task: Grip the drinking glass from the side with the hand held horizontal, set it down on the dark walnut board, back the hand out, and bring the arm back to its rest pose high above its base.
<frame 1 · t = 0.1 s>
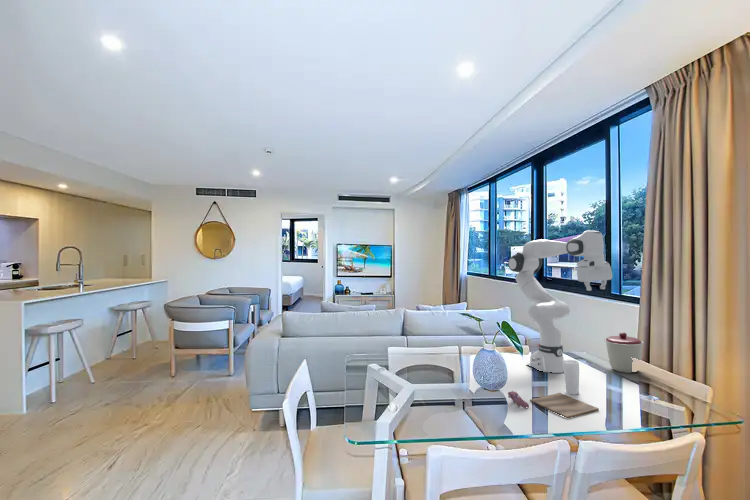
hand: (595, 289, 182), 48 cm above the table, tool pointing down, fingers open, 8 cm apart
drinking glass: (572, 393, 174), on the table
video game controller: (518, 405, 164), on the table
walnut board: (563, 406, 160), on the table
canister: (625, 370, 202), on the table
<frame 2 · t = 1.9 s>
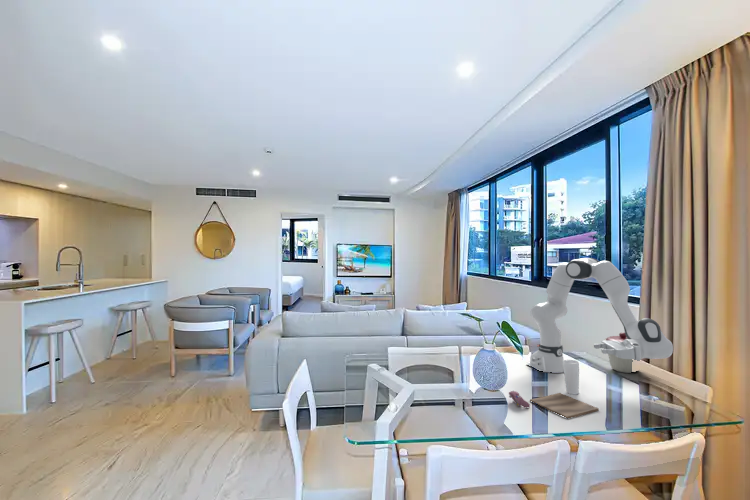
hand: (598, 348, 172), 21 cm above the table, tool horizontal, fingers open, 8 cm apart
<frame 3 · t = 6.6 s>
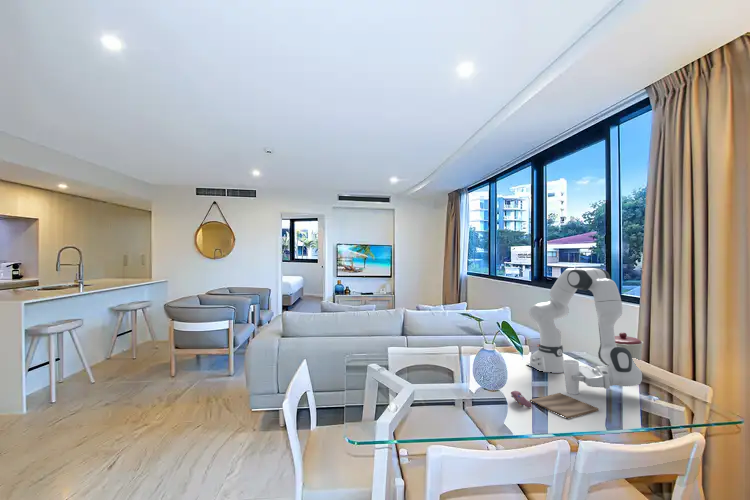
hand: (569, 375, 174), 9 cm above the table, tool horizontal, fingers closed on drinking glass, 6 cm apart
drinking glass: (572, 393, 174), on the table, touching gripper
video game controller: (520, 404, 164), on the table
everything else where it was.
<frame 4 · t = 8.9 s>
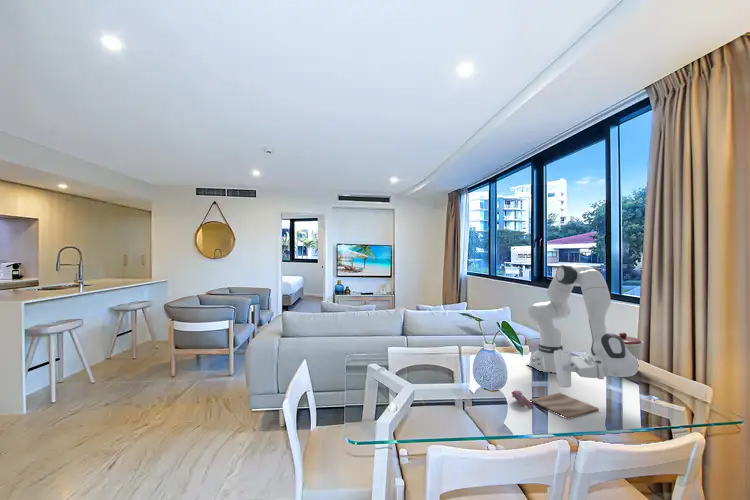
hand: (560, 365, 161), 17 cm above the table, tool horizontal, fingers closed on drinking glass, 6 cm apart
drinking glass: (564, 386, 161), point 8 cm above the table, touching gripper
when the fingers open (11 cm above the table, at t = 11.2 s): drinking glass moves 2 cm, resting on walnut board.
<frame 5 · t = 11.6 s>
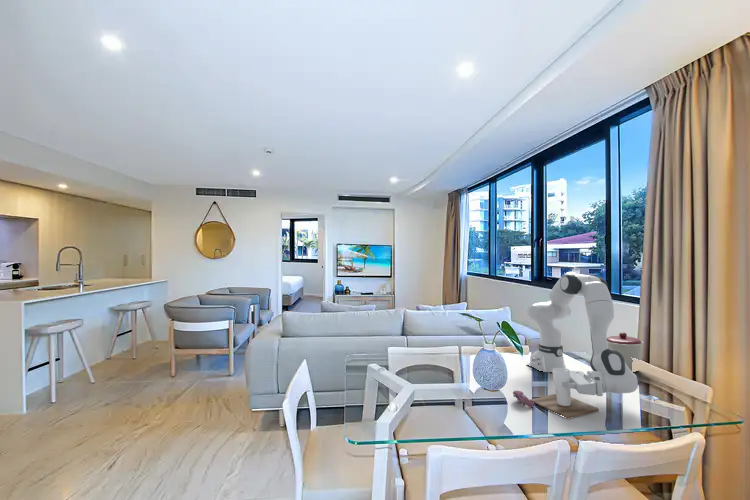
hand: (559, 381, 160), 11 cm above the table, tool horizontal, fingers open, 8 cm apart
drinking glass: (564, 405, 158), point 1 cm above the table, touching gripper, walnut board
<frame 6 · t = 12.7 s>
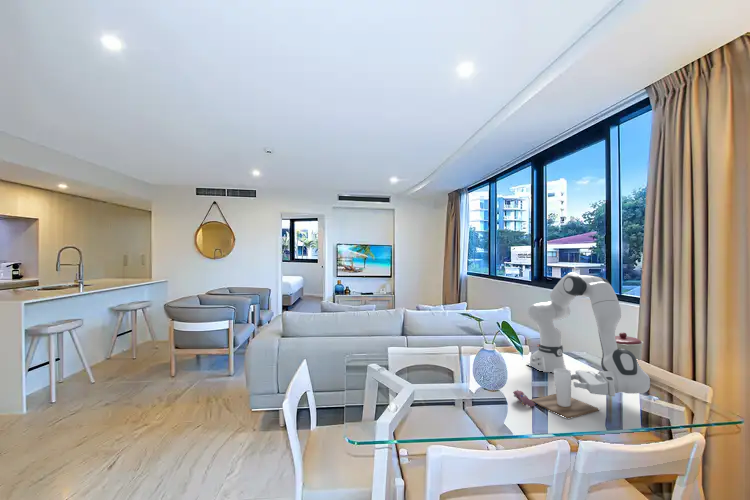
hand: (570, 381, 159), 11 cm above the table, tool horizontal, fingers open, 8 cm apart
drinking glass: (564, 405, 158), point 1 cm above the table, touching walnut board
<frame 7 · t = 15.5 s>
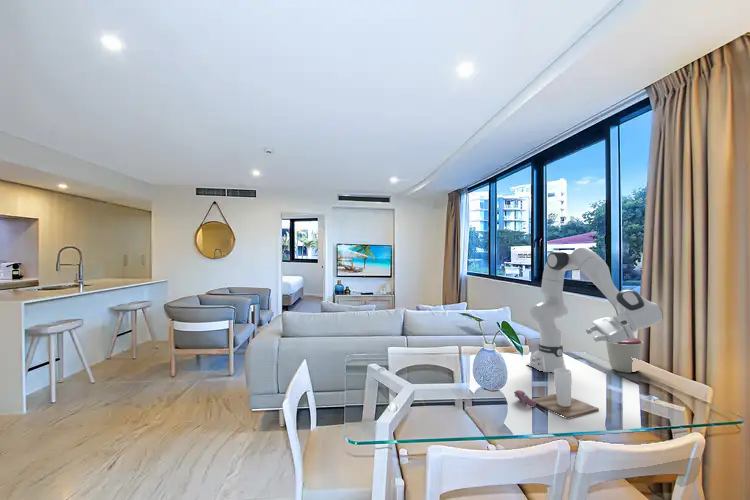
hand: (590, 335, 164), 29 cm above the table, tool tilted 70°, fingers open, 8 cm apart
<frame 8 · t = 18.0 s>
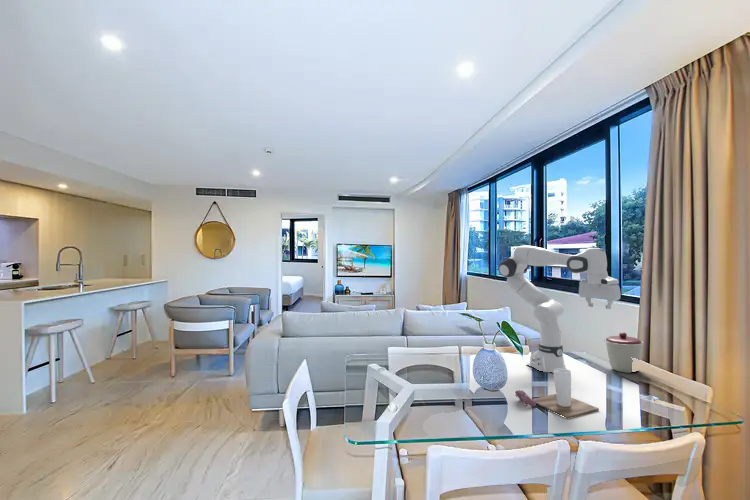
hand: (599, 307, 181), 39 cm above the table, tool pointing down, fingers open, 8 cm apart
at the end: drinking glass inside the target area on the walnut board (1.5 cm from its centre), point 0.8 cm above the walnut board's base; drinking glass tilted 0°; the gripper is holding nothing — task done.
